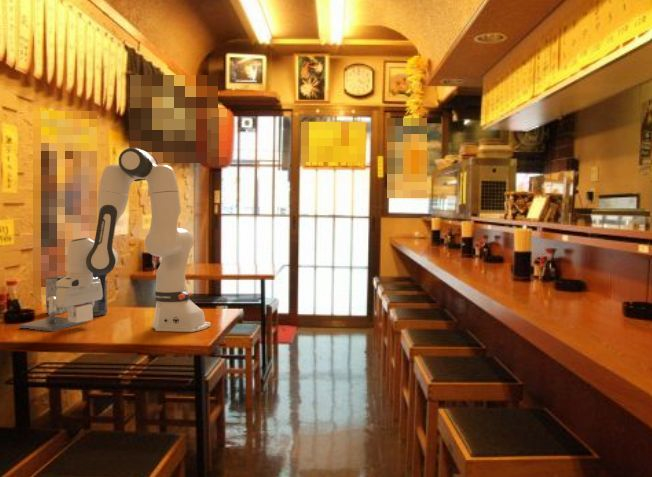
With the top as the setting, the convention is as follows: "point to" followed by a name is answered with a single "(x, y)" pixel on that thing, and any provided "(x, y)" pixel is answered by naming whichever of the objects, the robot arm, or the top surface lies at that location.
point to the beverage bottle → (101, 305)
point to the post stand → (50, 320)
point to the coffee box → (53, 293)
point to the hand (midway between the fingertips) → (80, 315)
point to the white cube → (82, 313)
